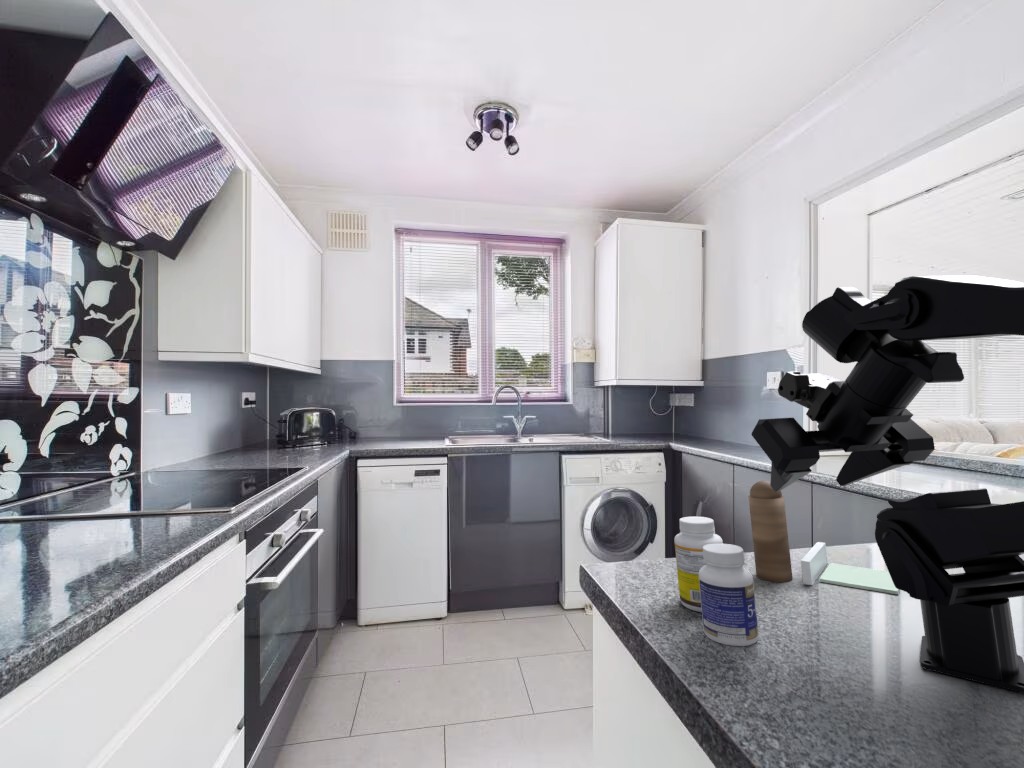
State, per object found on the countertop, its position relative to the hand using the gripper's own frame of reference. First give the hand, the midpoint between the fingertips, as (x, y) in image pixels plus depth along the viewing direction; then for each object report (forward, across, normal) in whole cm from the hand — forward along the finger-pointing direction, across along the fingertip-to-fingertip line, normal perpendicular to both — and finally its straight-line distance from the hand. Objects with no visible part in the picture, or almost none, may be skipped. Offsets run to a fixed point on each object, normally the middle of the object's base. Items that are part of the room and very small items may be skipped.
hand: (807, 485), depth 57 cm
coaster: (+12, -10, +7) cm, 17 cm away
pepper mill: (+15, 0, +4) cm, 15 cm away
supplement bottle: (+11, +14, +8) cm, 20 cm away
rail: (+15, -6, +4) cm, 16 cm away
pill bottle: (+6, +16, +14) cm, 22 cm away
